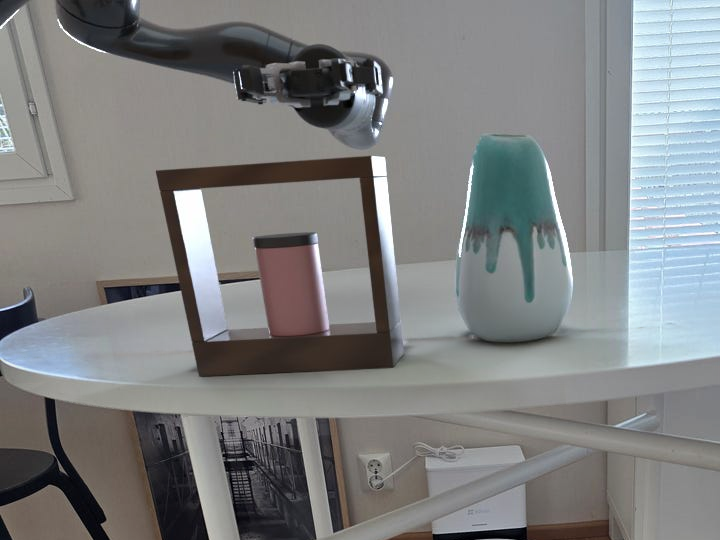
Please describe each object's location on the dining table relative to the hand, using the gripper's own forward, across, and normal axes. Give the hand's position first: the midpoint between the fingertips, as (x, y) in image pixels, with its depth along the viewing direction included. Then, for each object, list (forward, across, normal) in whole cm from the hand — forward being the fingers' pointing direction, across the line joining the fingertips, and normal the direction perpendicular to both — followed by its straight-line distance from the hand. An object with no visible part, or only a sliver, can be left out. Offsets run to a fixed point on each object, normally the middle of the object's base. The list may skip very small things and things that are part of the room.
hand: (291, 75), depth 80 cm
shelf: (+13, +1, +24) cm, 27 cm away
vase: (+4, +20, +24) cm, 32 cm away
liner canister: (+13, +1, +21) cm, 25 cm away
